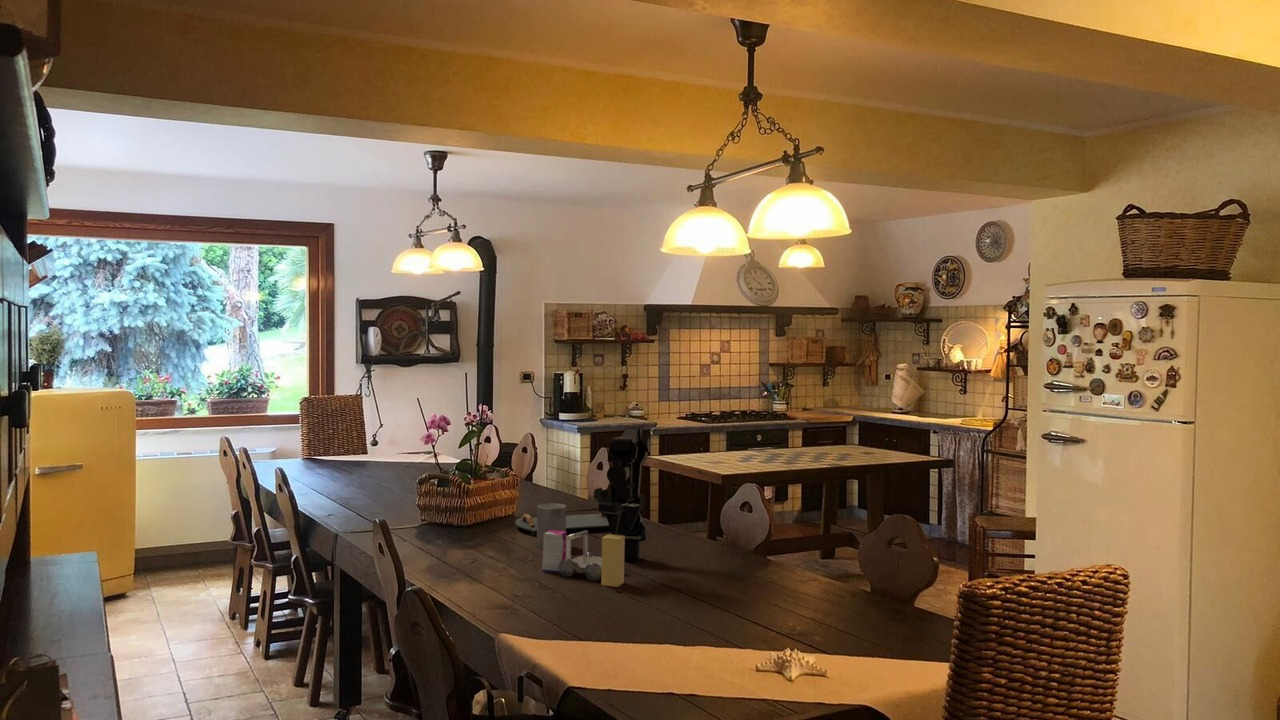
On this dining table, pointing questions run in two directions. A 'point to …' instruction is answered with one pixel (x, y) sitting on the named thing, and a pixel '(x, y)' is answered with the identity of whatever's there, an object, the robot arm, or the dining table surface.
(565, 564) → the trolley
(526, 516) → the serving board
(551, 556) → the supplement box
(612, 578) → the tall yellow block
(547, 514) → the pillar candle
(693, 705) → the dining table surface
